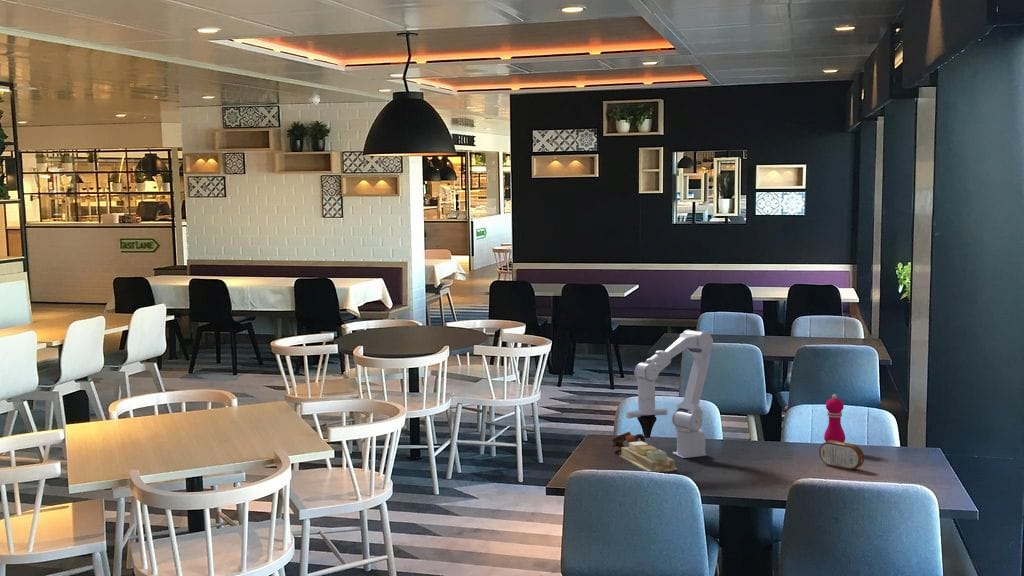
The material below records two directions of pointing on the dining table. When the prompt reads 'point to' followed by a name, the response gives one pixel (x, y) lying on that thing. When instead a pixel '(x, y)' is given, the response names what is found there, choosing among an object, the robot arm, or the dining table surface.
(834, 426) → the pepper mill
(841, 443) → the tin
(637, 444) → the ivory key
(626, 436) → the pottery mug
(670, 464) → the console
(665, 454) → the sage key
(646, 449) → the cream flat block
